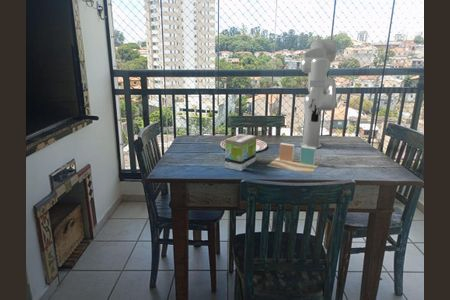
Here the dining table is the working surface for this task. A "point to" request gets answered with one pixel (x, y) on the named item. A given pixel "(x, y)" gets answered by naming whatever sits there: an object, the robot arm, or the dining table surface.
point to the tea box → (240, 151)
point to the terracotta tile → (286, 152)
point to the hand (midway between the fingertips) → (314, 121)
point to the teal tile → (307, 155)
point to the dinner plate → (259, 145)
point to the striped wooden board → (293, 165)
